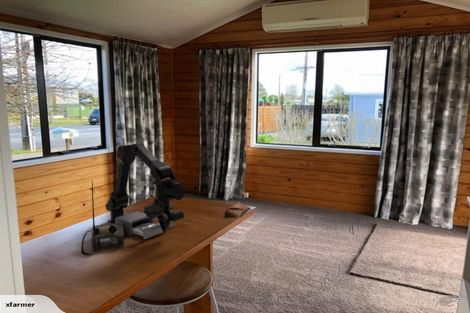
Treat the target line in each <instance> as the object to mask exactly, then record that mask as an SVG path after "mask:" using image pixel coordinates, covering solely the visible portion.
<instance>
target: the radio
mask: <svg viewBox="0 0 470 313" xmlns="http://www.w3.org/2000/svg"><path fill="white" fill-rule="evenodd" d="M93 185H94V182H93V181H91V197H92V198H91V204H92V205H91V206H92V229H90V230H87V231H86V232H85V233H84V234H83V237H82V239H81V249H80V250H81V254H82V255H84V256H91V255H93V254H94V253H95V252H96V251H98V250H104V249H110V248H117V247H120V248H125V237H124V236H125V234H124V233H123V223H119V224H114V223H110V224H101V225H96V224H95V206H94V203H95V202H94V186H93ZM89 232H92V233H91V248H92V253H89V252H85V250H84V247H85V246H84V243H85V239H86V237H87V235H88V234H87V233H89Z"/></svg>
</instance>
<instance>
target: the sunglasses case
mask: <svg viewBox="0 0 470 313" xmlns="http://www.w3.org/2000/svg"><path fill="white" fill-rule="evenodd" d="M250 209H251V207H249V206H247V205H246V204H243V203H242V202H240V201H237V202H236V203H234V204H233V205H231V206H230V207H229V208H227V209H226V210H225V211H224V216H225V217H226V216H231V217H230V218H235V217H238V219H241V217H242V216H243V215H244V214H246V212H248V211H249V210H250Z"/></svg>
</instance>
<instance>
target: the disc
mask: <svg viewBox="0 0 470 313" xmlns="http://www.w3.org/2000/svg"><path fill="white" fill-rule="evenodd" d="M155 224H156V223H155V222H154V223H145V224H142V225H140V226H139V229H140V231H141V232H143V229H144V228H147V227H150V226H153V225H155Z"/></svg>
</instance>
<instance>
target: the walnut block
mask: <svg viewBox="0 0 470 313" xmlns="http://www.w3.org/2000/svg"><path fill="white" fill-rule="evenodd" d="M174 227H177V221H170V223H169V226H168V229H172V228H174Z"/></svg>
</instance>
